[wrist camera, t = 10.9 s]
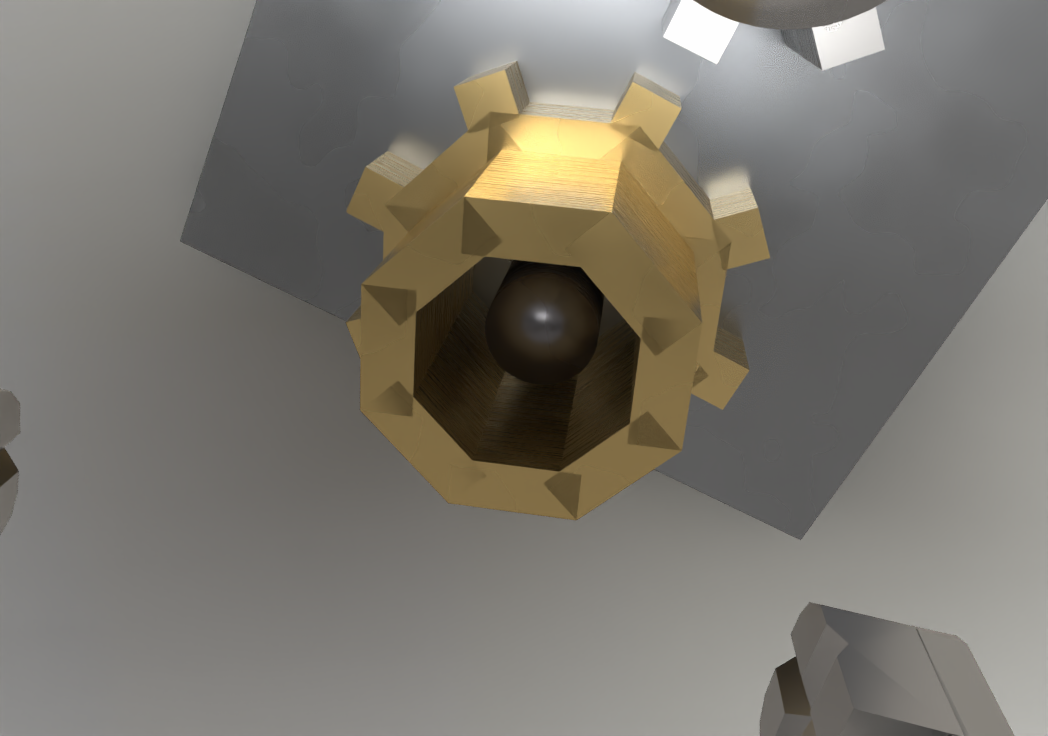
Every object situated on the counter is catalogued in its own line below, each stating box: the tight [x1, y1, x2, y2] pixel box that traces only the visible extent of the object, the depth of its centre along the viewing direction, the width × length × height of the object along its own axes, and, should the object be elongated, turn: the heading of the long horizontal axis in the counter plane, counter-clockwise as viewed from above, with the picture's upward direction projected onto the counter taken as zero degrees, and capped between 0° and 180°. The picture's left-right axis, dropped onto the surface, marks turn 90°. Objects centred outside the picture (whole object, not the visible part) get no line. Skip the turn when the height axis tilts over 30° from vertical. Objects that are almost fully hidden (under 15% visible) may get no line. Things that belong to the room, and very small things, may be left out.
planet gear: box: [346, 61, 770, 520], centre depth 16 cm, size 7×7×5 cm
